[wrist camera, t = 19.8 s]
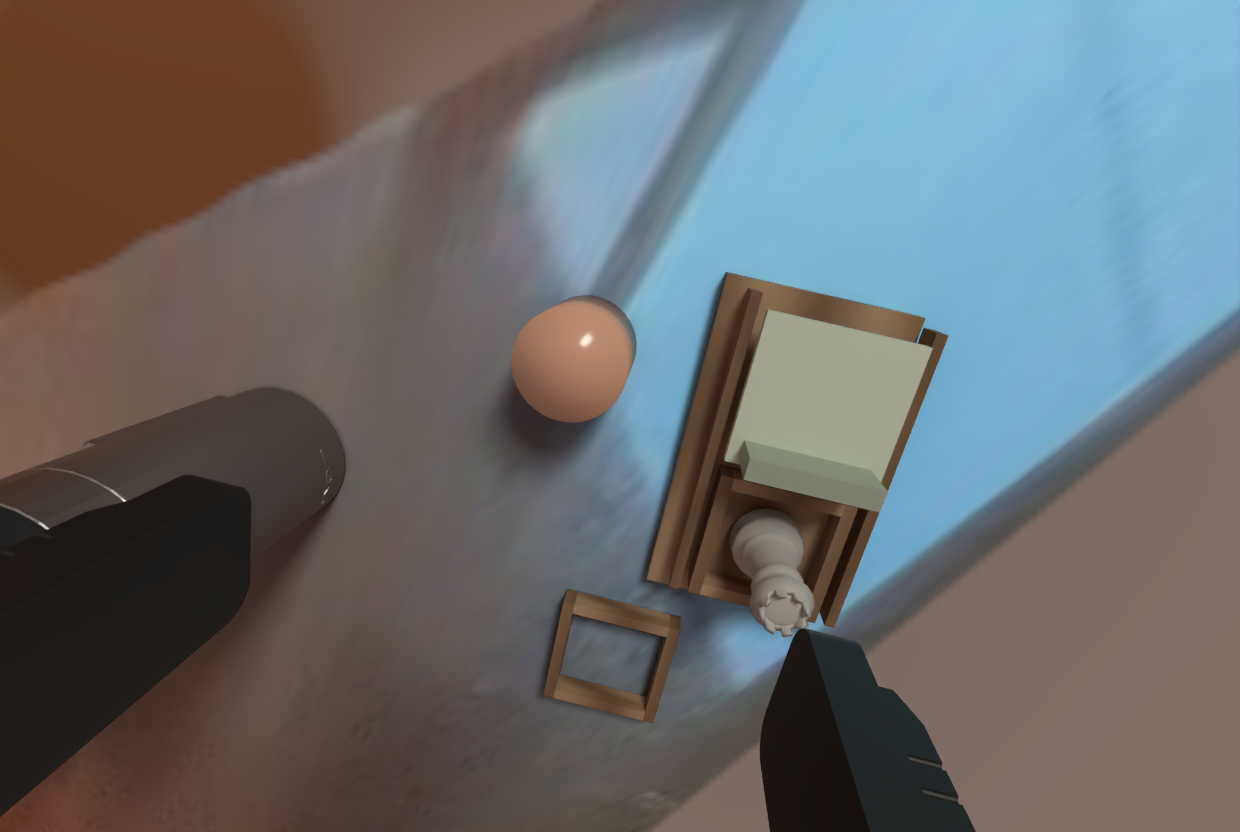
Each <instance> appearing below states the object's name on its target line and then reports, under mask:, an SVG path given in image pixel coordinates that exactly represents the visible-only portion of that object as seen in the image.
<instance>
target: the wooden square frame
mask: <svg viewBox="0 0 1240 832" xmlns="http://www.w3.org/2000/svg"><path fill="white" fill-rule="evenodd" d="M573 614H576V615H580V616H584V617H588V618H592V619H596V620H600V621H604V622H608V623H612V624H616V625H620V626H624V627H628V628H632V629H636V630H640V631H644V632H648V633H652V634H656V635H660V636H663V640H662V644H661V647H660V651H659V654H658V658H657V661H656V665H655V668H654V672H653V675H652V679H651V682H650V686H649V689H648V693H647V696H646V697H645V696H641V695H637V694H634V693H630V692H626V691H622V690H618V689H614V688H610V687H606V686H602V685H598V684H594V683H590V682H587V681H583V680H579V679H575V678H571V677H567V676H563V675H560V671H561V666H562V662H563V657H564V653H565V649H566V644H567V640H568V635H569V631H570V626H571V622H572V617H573ZM679 634H680V617H678V616H674V615H670V614H666V613H662V612H658V611H654V610H650V609H646V608H642V607H638V606H634V605H630V604H626V603H622V602H618V601H614V600H610V599H606V598H602V597H598V596H594V595H590V594H586V593H582V592H578V591H574V590H570V589H568V590H567V593H566V596H565V599H564V602H563V607H562V611H561V616H560V621H559V625H558V630H557V634H556V639H555V644H554V648H553V653H552V657H551V662H550V667H549V671H548V676H547V680H546V685H545V690H544V694H543V695H544V696H548V697H552V698H556V699H560V700H563V701H567V702H571V703H575V704H579V705H583V706H587V707H591V708H595V709H599V710H602V711H606V712H610V713H614V714H618V715H622V716H626V717H630V718H634V719H637V720H641V721H645V722H649V723H653V722H654V718H655V715H656V712H657V708H658V705H659V701H660V698H661V695H662V691H663V688H664V684H665V681H666V678H667V674H668V671H669V667H670V664H671V661H672V657H673V654H674V651H675V647H676V644H677V640H678V637H679Z"/></svg>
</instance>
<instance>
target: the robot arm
mask: <svg viewBox="0 0 1240 832" xmlns="http://www.w3.org/2000/svg"><path fill="white" fill-rule="evenodd" d="M344 472H345V456H344V452H343V448H342V444H341V441H340V439H339V437H338V435H337V433H336V430H335V429H334V427H333V426H332V424H331V423H330V422H329V420H328V419H327V417H326V416H325V415H324V414H323V413H322V412H321V411H320V410H319V409H318V408H317V407H316V406H314V405H313V404H311V403H310V402H309V401H307V400H306V399H304V398H303V397H301V396H298V395H296V394H294V393H292V392H289V391H286V390H281V389H277V388H257V389H253V390H248V391H245V392H242V393H240V394H237V395H234V396H231V397H228V398H227V397H223V396H216V397H213V398H210V399H207V400H204V401H201V402H199V403H196V404H193V405H190V406H187V407H184V408H181V409H178V410H175V411H173V412H170V413H167V414H164V415H161V416H158V417H155V418H152V419H149V420H146V421H144V422H141V423H138V424H135V425H132V426H129V427H126V428H123V429H120V430H117V431H115V432H112V433H109V434H106V435H103V436H100V437H97V438H94V439H91V440H89V441H87V442H85V443H84V444H83V445H82V446H81V448H80V451H77V452H74V453H71V454H69V455H66V456H63V457H60V458H58V459H55V460H52V461H49V462H46V463H44V464H41V465H38V466H35V467H32V468H30V469H27V470H24V471H21V472H18V473H16V474H13V475H11V476H8V477H5V478H3V479H0V817H1V816H2V815H3V814H4V813H5V812H7V811H8V810H9V809H10V808H11V807H12V806H14V805H15V804H16V803H17V802H18V801H19V800H21V799H22V798H23V797H24V796H25V795H27V794H28V793H29V792H30V791H31V790H32V789H34V788H35V787H36V786H37V785H38V784H39V783H41V782H42V781H43V780H44V779H45V778H47V777H48V776H49V775H50V774H51V773H52V772H54V771H55V770H56V769H57V768H58V767H59V766H61V765H62V764H63V763H64V762H65V761H67V760H68V759H69V758H70V757H71V756H72V755H74V754H75V753H76V752H77V751H78V750H79V749H81V748H82V747H83V746H84V745H85V744H87V743H88V742H89V741H90V740H91V739H92V738H94V737H95V736H96V735H97V734H98V733H99V732H101V731H102V730H103V729H104V728H105V727H107V726H108V725H109V724H110V723H111V722H112V721H114V720H115V719H116V718H117V717H118V716H119V715H121V714H122V713H123V712H124V711H125V710H127V709H128V708H129V707H130V706H131V705H132V704H134V703H135V702H136V701H137V700H138V699H139V698H141V697H142V696H143V695H144V694H145V693H147V692H148V691H149V690H150V689H151V688H152V687H154V686H155V685H156V684H157V683H158V682H159V681H161V680H162V679H163V678H164V677H165V676H167V675H168V674H169V673H170V672H171V671H172V670H174V669H175V668H176V667H177V666H178V665H179V664H181V663H182V662H183V661H184V660H185V659H187V658H188V657H189V656H190V655H191V654H192V653H194V652H195V651H196V650H197V649H198V648H199V647H201V646H202V645H203V644H204V643H205V642H207V641H208V640H209V639H210V638H211V637H212V636H214V635H215V634H216V633H217V632H218V631H219V630H221V629H222V628H223V627H224V626H225V625H226V624H227V623H228V622H230V620H231V619H232V618H233V617H234V616H235V614H236V613H237V612H238V610H239V608H240V607H241V605H242V603H243V601H244V599H245V596H246V594H247V591H248V588H249V583H250V562H251V561H253V560H254V559H255V558H257V557H258V556H259V555H261V554H262V553H263V552H265V551H266V550H267V549H269V548H270V547H271V546H272V545H274V544H275V543H276V542H278V541H279V540H280V539H282V538H283V537H284V536H286V535H287V534H288V533H290V532H291V531H292V530H294V529H295V528H296V527H298V526H299V525H300V524H302V523H303V522H304V521H305V520H307V519H308V518H309V517H311V516H312V515H313V514H315V513H316V512H317V511H319V510H320V509H321V508H323V507H324V506H325V505H327V504H328V503H329V502H330V501H331V500H332V499H333V498H334V497H335V495H336V494H337V493H338V491H339V489H340V486H341V484H342V482H343V477H344ZM760 763H761V770H762V778H763V785H764V792H765V799H766V806H767V813H768V820H769V827H770V832H975V829H974V827H973V825H972V823H971V821H970V819H969V817H968V815H967V813H966V811H965V809H964V807H963V805H960V804H958V795H957V792H956V790H955V788H954V786H953V784H952V782H951V780H950V778H949V776H948V774H947V772H946V771H944V770H942V761H941V759H940V758H939V755H938V753H937V751H936V749H935V747H934V745H933V743H932V741H931V739H930V737H929V735H928V733H927V731H926V729H925V726H924V725H923V724H922V722H921V721H920V720H919V719H918V718H917V717H916V716H915V714H914V713H913V712H912V711H911V710H910V709H909V708H908V706H907V705H906V704H905V703H904V702H903V701H902V700H901V699H900V697H899V696H898V695H897V694H896V693H895V692H894V691H893V690H891V689H887V688H882V687H878V685H877V682H876V680H875V678H874V676H873V673H872V671H871V668H870V666H869V664H868V661H867V659H866V657H865V654H864V652H863V650H862V648H861V646H860V645H859V643H858V642H856V641H853V640H849V639H845V638H841V637H837V636H833V635H829V634H825V633H821V632H817V631H813V630H809V629H805V628H801V629H799V630H798V631H797V633H796V634H795V636H794V638H793V640H792V642H791V645H790V648H789V650H788V653H787V656H786V658H785V661H784V664H783V667H782V669H781V672H780V675H779V677H778V680H777V683H776V686H775V688H774V691H773V694H772V696H771V699H770V702H769V705H768V707H767V710H766V713H765V716H764V720H763V725H762V731H761V739H760Z"/></svg>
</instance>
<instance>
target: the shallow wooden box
mask: <svg viewBox="0 0 1240 832" xmlns="http://www.w3.org/2000/svg"><path fill="white" fill-rule="evenodd" d="M766 309H769V310H774V311H778V312H782V313H787V314H791V315H795V316H800V317H804V318H808V319H813V320H817V321H822V322H826V323H830V324H835V325H839V326H843V327H848V328H852V329H856V330H861V331H865V332H869V333H874V334H878V335H883V336H887V337H891V338H896V339H900V340H904V341H909V342H913V343H916V342H917V339H918V337H919V334H920V331H921V329H922V326H923V323H924V321H925V318H923V317H920V316H917V315H912V314H908V313H903V312H899V311H895V310H890V309H886V308H882V307H877V306H873V305H868V304H864V303H860V302H855V301H851V300H846V299H842V298H838V297H833V296H829V295H824V294H820V293H816V292H811V291H807V290H802V289H798V288H794V287H789V286H785V285H781V284H776V283H772V282H767V281H763V280H759V279H754V278H750V277H745V276H741V275H737V274H732V273H728V272H726V275H725V279H724V283H723V287H722V290H721V294H720V298H719V302H718V306H717V309H716V313H715V317H714V321H713V324H712V328H711V332H710V336H709V340H708V343H707V347H706V351H705V355H704V359H703V362H702V366H701V370H700V374H699V377H698V381H697V385H696V389H695V393H694V396H693V400H692V404H691V408H690V412H689V415H688V419H687V423H686V427H685V430H684V434H683V438H682V442H681V446H680V449H679V453H678V457H677V461H676V465H675V468H674V472H673V476H672V480H671V484H670V487H669V491H668V495H667V499H666V502H665V506H664V510H663V514H662V518H661V521H660V525H659V529H658V533H657V537H656V540H655V544H654V548H653V552H652V555H651V559H650V563H649V567H648V572H647V580H651V581H655V582H659V583H663V584H667V585H669V587H671V588H675V589H679V587H680V588H684V589H688V592H692V593H696V594H700V595H704V596H708V597H712V598H716V599H720V600H724V601H728V602H732V603H736V604H740V605H744V606H748V607H750V604H749V601H750V598H751V594H752V591H751V583H752V578H751V577H749V576H748V575H747V574H745V573H744V572H742V571H741V570H740V568H739V567H738V565H737V564H736V562H735V561H734V559H733V556H732V552H731V549H730V543H729V537H730V534H731V530H732V527H733V526H734V524H735V523H736V522H737V521H738V520H739V519H740V517H741V516H743V515H745V514H747V513H749V512H751V511H753V510H758V509H766V508H770V509H774V510H778V511H783V512H784V513H786V514H787V515H788V516H790V517H791V518H793V519H794V520H795V522H796V523H797V525H798V526H799V528H800V530H801V534H802V538H803V545H804V554H803V557H802V559H801V562H800V565H799V566H798V567H797V571H798V572H799V574H800V575H801V577H802V579H803V581H804V584H806V585H807V586H808V588H809V589H810V591H811V592H812V594H813V596H814V605H815V606H814V609H813V612H812V615H811V617H810V618H809V619H808V620H807V621H808V622H812V623H815V621H816V619H817V616H818V613H819V612H820V614H821V617H822V620H823V623H824V625H825V626H829V627H833V628H834V627H835V624H836V622H837V619H838V617H839V614H840V611H841V609H842V606H843V604H844V601H845V599H846V596H847V594H848V591H849V588H850V586H851V583H852V581H853V578H854V576H855V573H856V571H857V568H858V565H859V563H860V560H861V558H862V555H863V553H864V550H865V548H866V545H867V543H868V540H869V537H870V535H871V532H872V530H873V527H874V525H875V522H876V520H877V517H878V514H879V512H875V511H871V510H867V509H863V508H859V507H854V506H850V505H846V504H842V503H838V502H834V501H829V500H825V499H821V498H817V497H813V496H809V495H805V494H800V493H796V492H792V491H788V490H784V489H780V488H775V487H771V486H767V485H763V484H759V483H755V482H750V481H746V480H743V476H742V471H741V467H740V464H735V463H731V462H727V461H724V453H725V450H726V446H727V443H728V439H729V436H730V433H731V429H732V426H733V422H734V419H735V415H736V412H737V408H738V405H739V402H740V398H741V395H742V391H743V388H744V384H745V381H746V377H747V374H748V371H749V367H750V364H751V360H752V357H753V353H754V350H755V346H756V343H757V340H758V336H759V333H760V329H761V326H762V322H763V319H764V315H765V312H766ZM947 338H948V335H946V334H943V333H940V332H938V331H935V330H931V329H927V328H924V329H923V331H922V334H921V337H920V339H919V342H918V344H922V345H926V346H929V347H931V348H933V349H932V352H931V354H930V357H929V360H928V362H927V365H926V367H925V370H924V373H923V375H922V378H921V380H920V383H919V386H918V388H917V391H916V393H915V396H914V399H913V401H912V404H911V406H910V409H909V411H908V414H907V417H906V419H905V422H904V424H903V427H902V430H901V432H900V435H899V437H898V440H897V443H896V445H895V448H894V450H893V453H892V456H891V458H890V461H889V463H888V466H887V468H886V471H885V474H884V476H883V479H882V481H881V484H882V485H883V486H884V487H885V489H886V490H887V491H888V489H889V486H890V484H891V481H892V479H893V476H894V474H895V471H896V468H897V466H898V463H899V461H900V458H901V456H902V453H903V451H904V448H905V445H906V443H907V440H908V438H909V435H910V433H911V430H912V428H913V425H914V423H915V420H916V417H917V415H918V412H919V410H920V407H921V405H922V402H923V400H924V397H925V394H926V392H927V389H928V387H929V384H930V382H931V379H932V377H933V374H934V371H935V369H936V366H937V364H938V361H939V359H940V356H941V354H942V351H943V348H944V346H945V343H946V341H947Z"/></svg>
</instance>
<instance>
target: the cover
mask: <svg viewBox="0 0 1240 832" xmlns="http://www.w3.org/2000/svg"><path fill="white" fill-rule="evenodd" d="M932 349H933V348H931V347H929V346H926V345H922V344H917V343H913V342H909V341H904V340H900V339H896V338H891V337H887V336H883V335H878V334H874V333H869V332H865V331H861V330H856V329H852V328H848V327H843V326H839V325H835V324H830V323H826V322H822V321H817V320H813V319H808V318H804V317H800V316H795V315H791V314H787V313H782V312H778V311H774V310H769V309H766V312H765V315H764V319H763V322H762V326H761V329H760V333H759V336H758V340H757V343H756V346H755V350H754V353H753V357H752V360H751V364H750V367H749V371H748V374H747V377H746V381H745V384H744V388H743V391H742V395H741V398H740V402H739V405H738V408H737V412H736V415H735V419H734V422H733V426H732V429H731V433H730V436H729V439H728V443H727V446H726V450H725V453H724V461H727V462H731V463H735V464H740V467H741V471H742V476H743V480H746V481H750V482H755V483H759V484H763V485H767V486H771V487H775V488H780V489H784V490H788V491H792V492H796V493H800V494H805V495H809V496H813V497H817V498H821V499H825V500H829V501H834V502H838V503H842V504H846V505H850V506H854V507H859V508H863V509H867V510H871V511H875V512H880V510H881V507H882V505H883V502H884V499H885V497H886V494H887V492H888V491H887V490H886V489H885V487H884V486H883V485H882V484H881V481H882V479H883V476H884V474H885V471H886V468H887V466H888V463H889V461H890V458H891V456H892V453H893V450H894V448H895V445H896V443H897V440H898V437H899V435H900V432H901V430H902V427H903V424H904V422H905V419H906V417H907V414H908V411H909V409H910V406H911V404H912V401H913V399H914V396H915V393H916V391H917V388H918V386H919V383H920V380H921V378H922V375H923V373H924V370H925V367H926V365H927V362H928V360H929V357H930V354H931V352H932Z"/></svg>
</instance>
